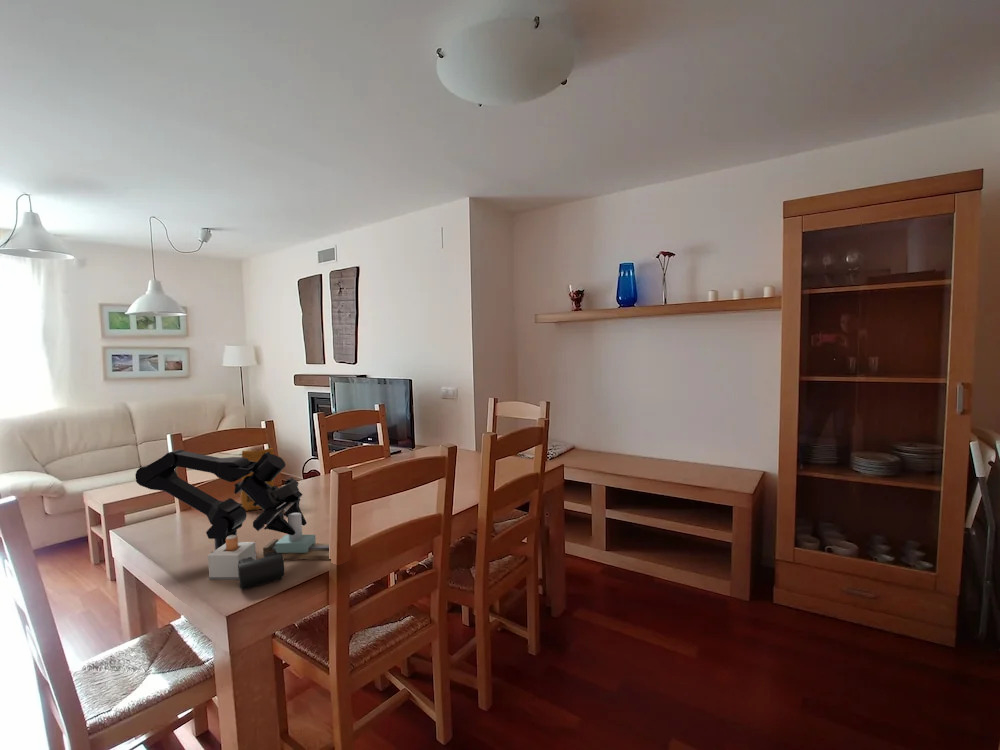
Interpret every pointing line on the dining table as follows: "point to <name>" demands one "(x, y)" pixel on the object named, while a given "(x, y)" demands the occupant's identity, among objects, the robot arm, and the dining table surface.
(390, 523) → the dining table surface
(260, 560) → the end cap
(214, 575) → the cabinet
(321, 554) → the rail
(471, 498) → the dining table surface
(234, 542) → the cylinder
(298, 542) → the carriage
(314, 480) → the dining table surface
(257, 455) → the coffee package
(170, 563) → the dining table surface
